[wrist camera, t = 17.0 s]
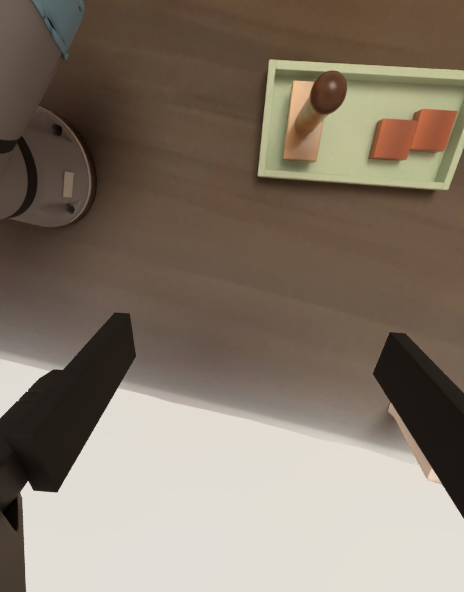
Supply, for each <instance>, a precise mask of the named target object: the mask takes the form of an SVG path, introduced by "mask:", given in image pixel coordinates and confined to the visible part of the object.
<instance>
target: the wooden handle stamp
mask: <svg viewBox="0 0 464 592" xmlns="http://www.w3.org/2000/svg"><path fill="white" fill-rule="evenodd" d="M346 93H347V82H346V79H345V77H344V76H343V75H342V74H341V73H340V72H338V71H334V70H331V71H327V72H325V73H323V74H321V75H320V76H319V77H318V78H317V79H316V81H315V82H314V81H297V80H294V81H293V83H292V86H291V92H290V100H289V108H288V116H287V124H286V131H285V139H284V147H283V155H282V160H284V161H299V162H315V161H317V156H318V150H319V144H320V139H321V133H322V127H323V122H324V119H325V118H326V117H327V116H328V115H329V114H331V113H333V112H335V111H336V110H337V109H338V108H339V107H340V106H341V105H342V103H343V102H344V100H345V97H346Z"/></svg>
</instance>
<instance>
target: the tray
mask: <svg viewBox="0 0 464 592" xmlns="http://www.w3.org/2000/svg"><path fill="white" fill-rule="evenodd" d="M331 70H334V71H338V72H340V73H341V74H342V75H343V76H344V77H345V79H346V82H347V93H346V97H345V100H344V102H343V103H342V105H341V106H340V107H339V108H338V109H337V110H336V111H335V112H333V113H331V114H329V115H328V116H327V117H326V118H325V119H324V122H323V127H322V133H321V139H320V144H319V150H318V156H317V161H315V162H299V161H284V160H282V155H283V147H284V139H285V131H286V124H287V116H288V108H289V100H290V92H291V86H292V83H293V81H294V80H297V81H314V82H315V81H316V79H317V78H318V77H319V76H320V75H321V74H323V73H325V72H327V71H331ZM421 109H434V110H450V111H458V112H457V115H456V118H455V121H454V124H453V127H452V130H451V133H450V135H449V138H448V141H447V144H446V147H445V150H444V151H442V152H437V153H431V152H416V151H409V153H408V157H407V160H402V161H393V160H379V159H368V158H369V154H370V149H371V145H372V141H373V137H374V133H375V129H376V125H377V122H378V121H379V120H381V119H383V118H385V119H401V120H413V116H414V113H415V112H417V111H419V110H421ZM463 148H464V71H463V70H445V69H427V68H410V67H392V66H374V65H356V64H338V63H320V62H302V61H284V60H269V66H268V75H267V85H266V95H265V105H264V115H263V125H262V135H261V145H260V155H259V166H258V176H257V177H265V178H278V179H292V180H305V181H319V182H332V183H345V184H359V185H372V186H386V187H399V188H413V189H426V190H448V189H449V186H450V183H451V180H452V178H453V175H454V172H455V170H456V167H457V164H458V161H459V159H460V156H461V153H462V151H463Z"/></svg>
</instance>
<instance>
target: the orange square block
mask: <svg viewBox="0 0 464 592" xmlns="http://www.w3.org/2000/svg"><path fill="white" fill-rule="evenodd" d="M457 112H458V111H450V110H434V109H421V110H419V111H417V112H415V113H414V116H413V120H417V121H418V123H417V126H416V130H415V133H414V137H413V140H412V143H411V147H410V150H409V151H416V152H431V153H437V152H442V151H444V150H445V147H446V144H447V141H448V138H449V135H450V133H451V130H452V127H453V124H454V121H455V118H456V115H457Z"/></svg>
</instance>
